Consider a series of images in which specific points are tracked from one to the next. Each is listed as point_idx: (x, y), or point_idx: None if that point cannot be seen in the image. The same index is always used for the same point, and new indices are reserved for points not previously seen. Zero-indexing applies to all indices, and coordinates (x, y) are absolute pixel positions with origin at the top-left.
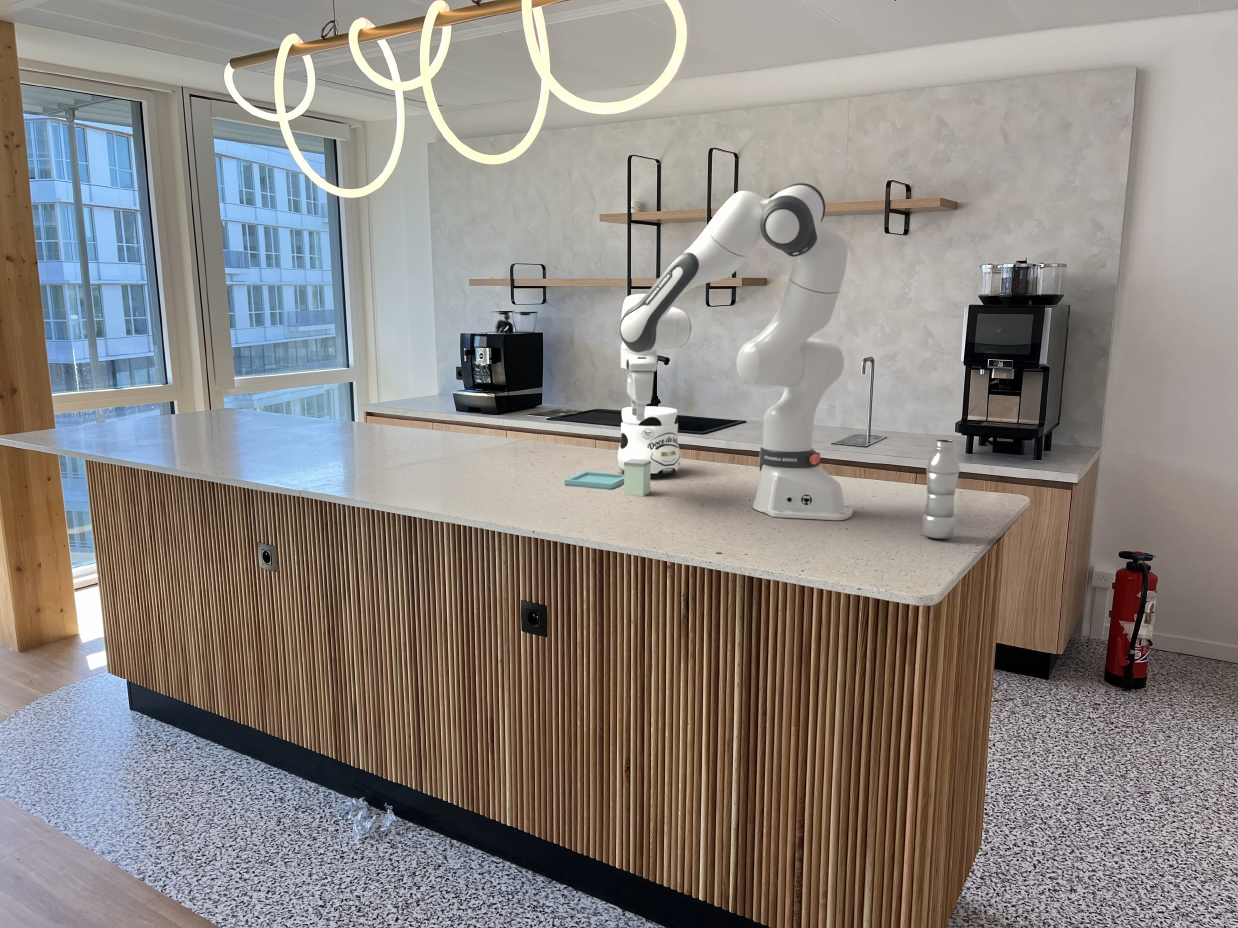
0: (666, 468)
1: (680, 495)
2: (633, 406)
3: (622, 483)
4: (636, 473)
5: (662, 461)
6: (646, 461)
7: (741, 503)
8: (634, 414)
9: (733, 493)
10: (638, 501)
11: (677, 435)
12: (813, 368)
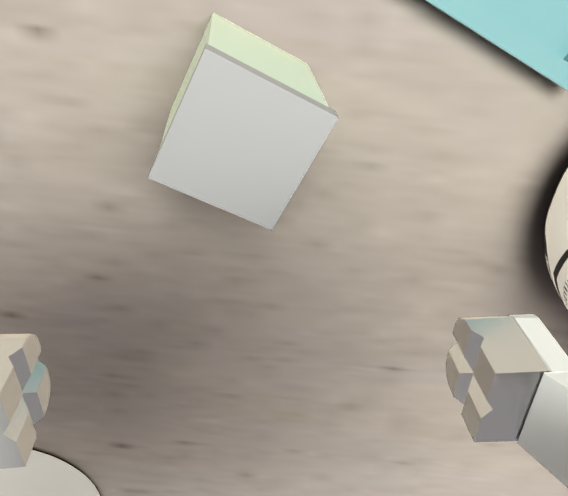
0: (551, 274)
1: (193, 264)
2: (564, 404)
3: (478, 34)
4: (175, 112)
5: (563, 278)
6: (235, 201)
7: (69, 422)
8: (458, 338)
9: (231, 419)
10: (43, 71)
11: None
12: None
